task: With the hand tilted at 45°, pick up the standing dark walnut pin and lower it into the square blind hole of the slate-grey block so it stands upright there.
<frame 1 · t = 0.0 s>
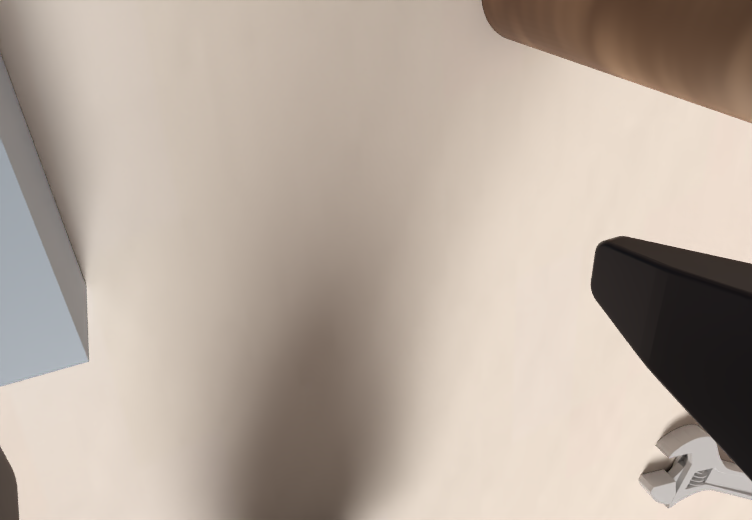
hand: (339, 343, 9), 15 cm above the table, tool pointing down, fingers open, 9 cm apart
adjustable wrench: (718, 475, 52), on the table
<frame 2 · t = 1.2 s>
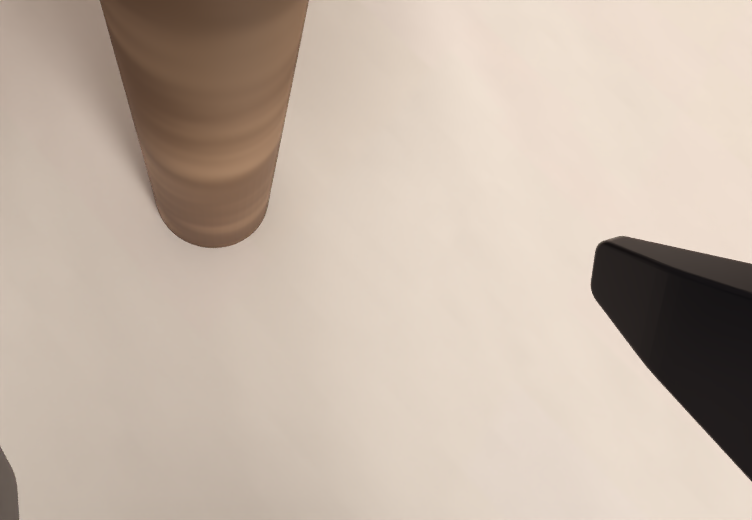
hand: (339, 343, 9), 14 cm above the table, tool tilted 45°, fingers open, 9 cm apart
pin: (213, 195, 23), on the table
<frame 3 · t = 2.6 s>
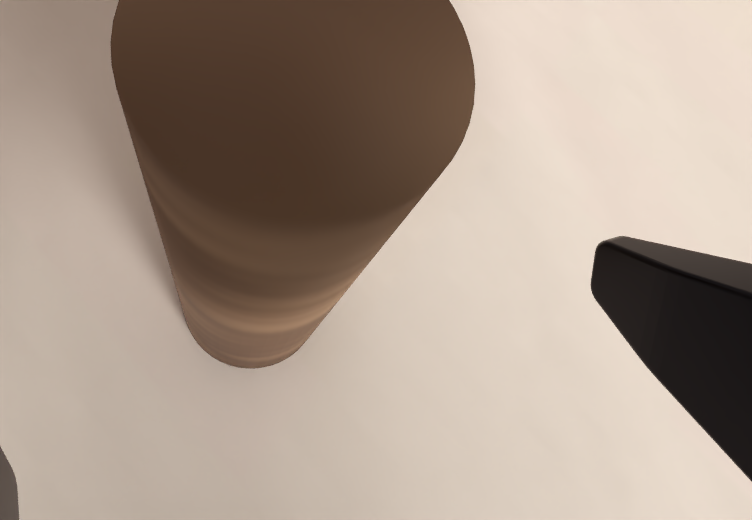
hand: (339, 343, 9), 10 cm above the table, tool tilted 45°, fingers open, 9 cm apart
pin: (252, 301, 19), on the table
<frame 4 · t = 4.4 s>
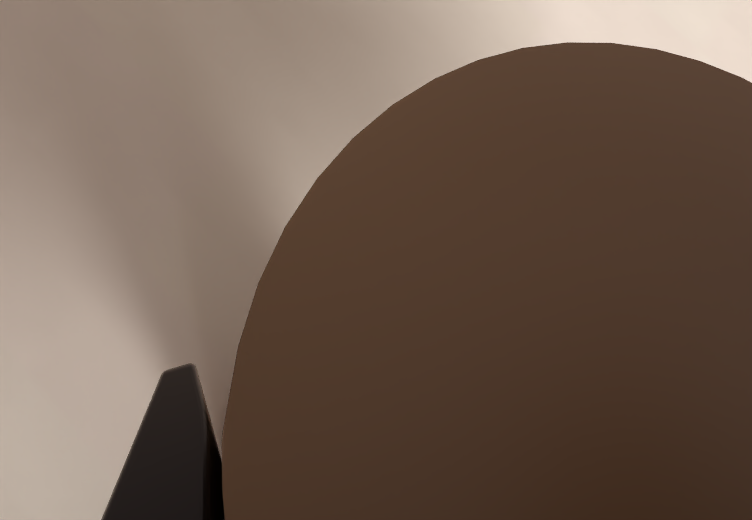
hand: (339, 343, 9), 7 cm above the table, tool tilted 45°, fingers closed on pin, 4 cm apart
pin: (308, 438, 15), on the table, touching gripper
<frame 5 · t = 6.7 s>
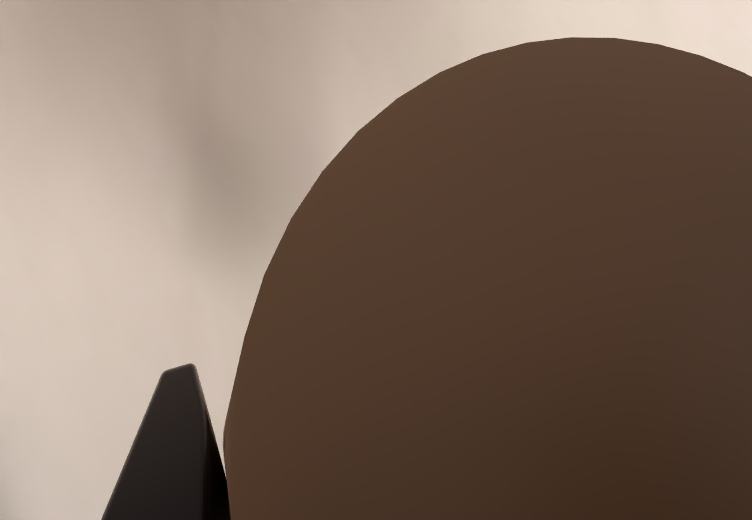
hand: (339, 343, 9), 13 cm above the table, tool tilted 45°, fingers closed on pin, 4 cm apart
pin: (309, 436, 15), point 7 cm above the table, touching gripper
when the fingers open (9 cm above the table, at t = 9.3 s): pin drops 1 cm, resting on hole block.
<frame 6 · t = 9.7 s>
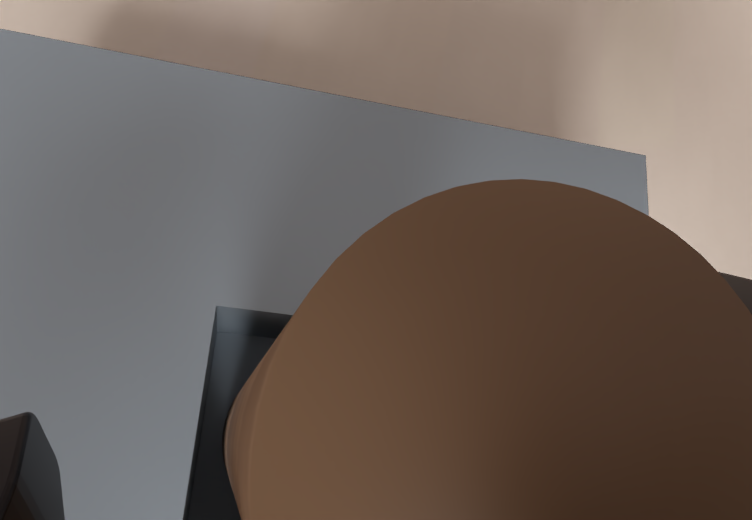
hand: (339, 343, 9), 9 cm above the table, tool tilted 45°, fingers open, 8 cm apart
hole block: (296, 438, 17), on the table
pin: (301, 437, 16), point 1 cm above the table, touching hole block
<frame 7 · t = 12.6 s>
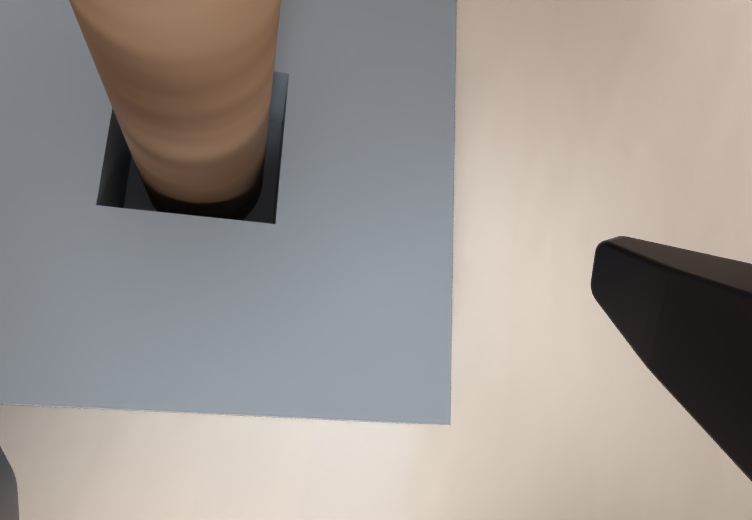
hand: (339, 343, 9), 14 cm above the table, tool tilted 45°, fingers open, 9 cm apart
hole block: (205, 188, 23), on the table
pin: (204, 177, 22), point 1 cm above the table, touching hole block
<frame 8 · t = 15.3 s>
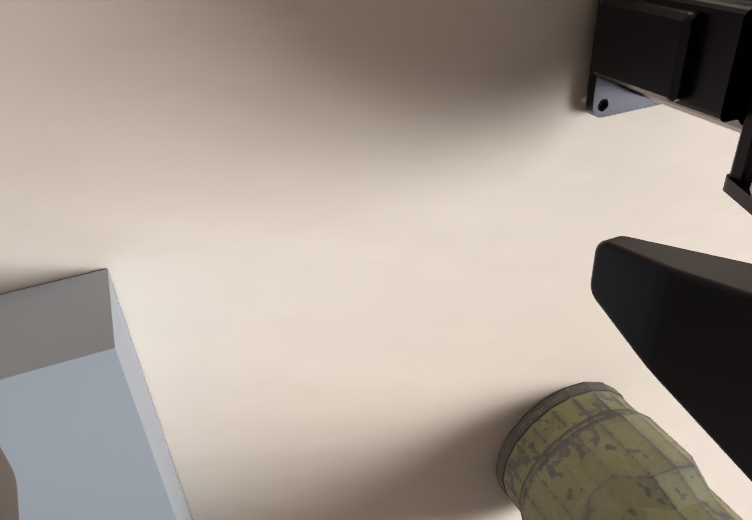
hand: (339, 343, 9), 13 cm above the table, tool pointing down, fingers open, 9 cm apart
thermos: (557, 440, 36), on the table
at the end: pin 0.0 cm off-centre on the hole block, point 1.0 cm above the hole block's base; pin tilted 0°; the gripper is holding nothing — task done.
